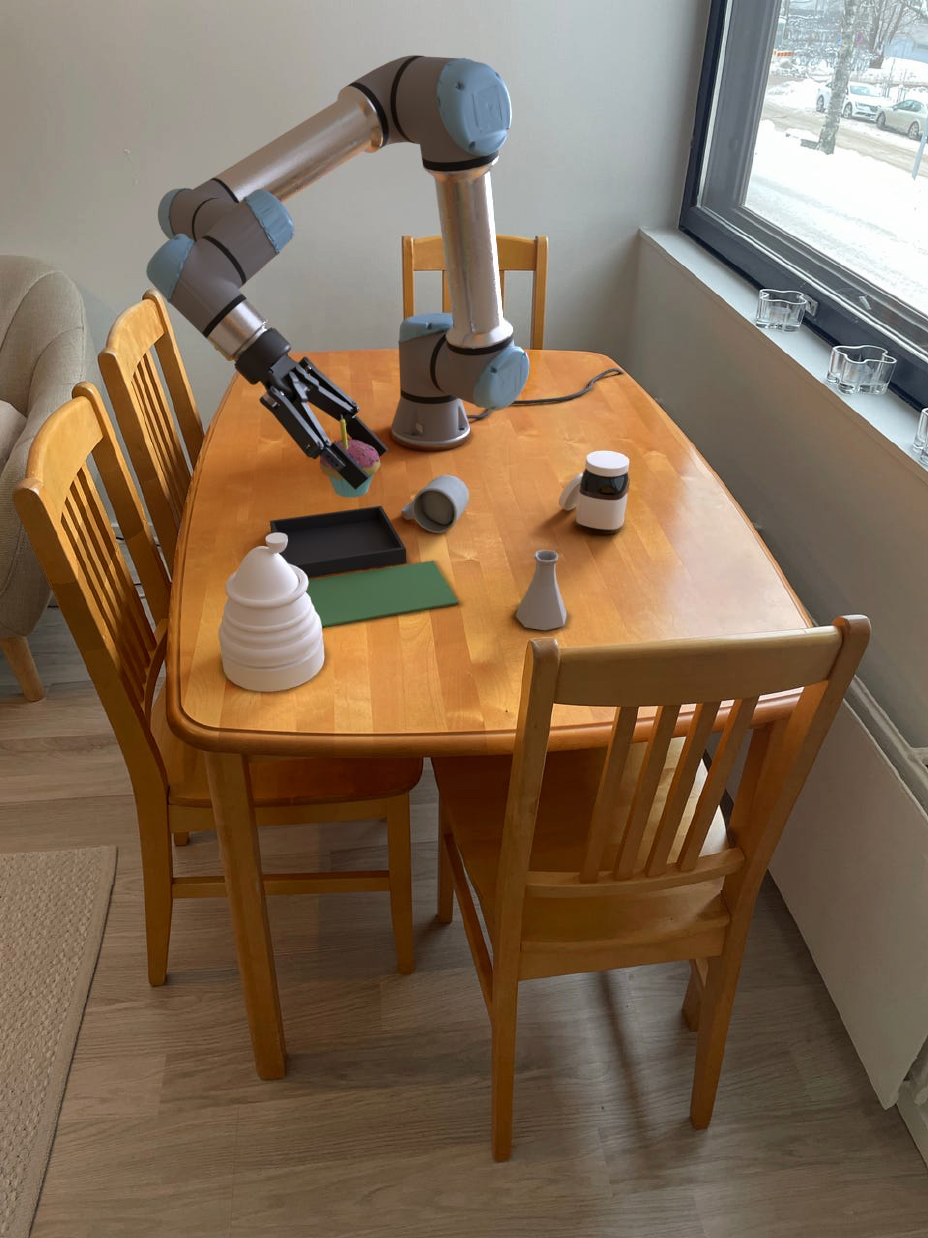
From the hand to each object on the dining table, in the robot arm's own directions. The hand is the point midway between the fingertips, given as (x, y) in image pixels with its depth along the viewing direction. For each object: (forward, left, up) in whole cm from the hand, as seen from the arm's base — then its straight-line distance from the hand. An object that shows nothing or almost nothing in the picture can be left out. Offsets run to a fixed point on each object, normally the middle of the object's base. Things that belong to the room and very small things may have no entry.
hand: (372, 468), depth 127 cm
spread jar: (-38, -6, -17) cm, 42 cm away
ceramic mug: (-13, -13, -17) cm, 25 cm away
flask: (-19, +18, -17) cm, 31 cm away
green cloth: (+1, +6, -17) cm, 18 cm away
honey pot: (+18, +17, -17) cm, 30 cm away
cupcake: (+3, -2, -4) cm, 5 cm away
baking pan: (+4, -9, -17) cm, 19 cm away
